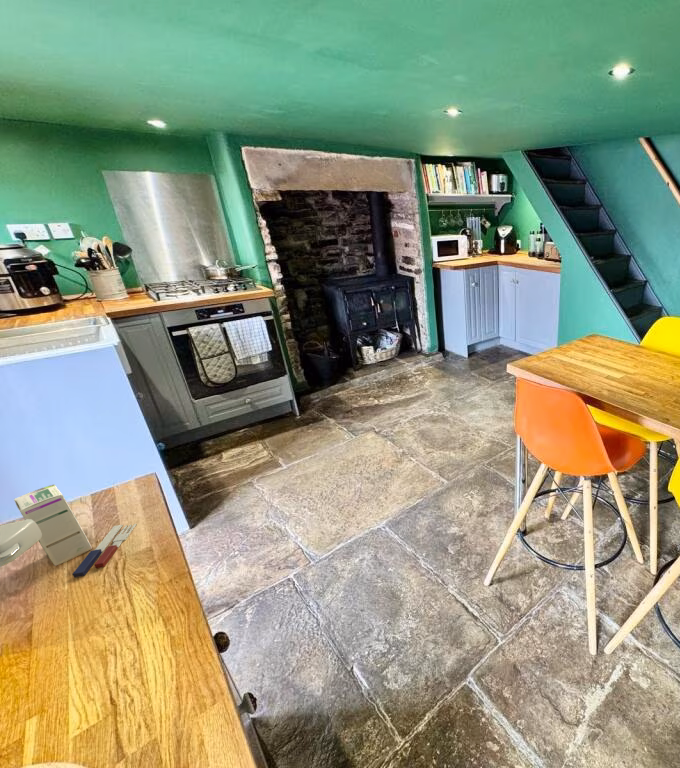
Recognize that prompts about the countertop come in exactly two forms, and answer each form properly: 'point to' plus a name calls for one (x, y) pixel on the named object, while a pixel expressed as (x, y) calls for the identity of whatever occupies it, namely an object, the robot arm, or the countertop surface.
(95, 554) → the knife
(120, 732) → the countertop surface
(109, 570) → the countertop surface
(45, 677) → the countertop surface
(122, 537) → the fork
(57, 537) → the syrup box
